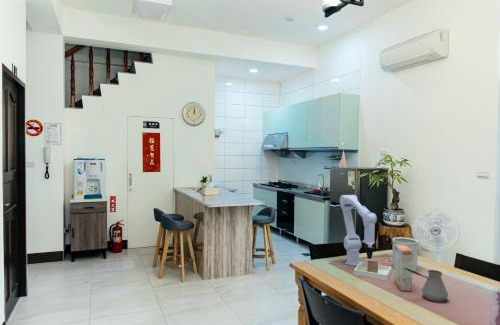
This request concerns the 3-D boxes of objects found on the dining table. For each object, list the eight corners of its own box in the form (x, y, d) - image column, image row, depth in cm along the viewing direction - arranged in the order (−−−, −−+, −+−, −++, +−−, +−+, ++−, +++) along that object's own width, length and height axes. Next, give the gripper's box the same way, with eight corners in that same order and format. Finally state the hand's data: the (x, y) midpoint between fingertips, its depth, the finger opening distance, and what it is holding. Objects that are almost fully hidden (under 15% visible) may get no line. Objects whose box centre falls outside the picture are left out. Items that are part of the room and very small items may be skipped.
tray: (360, 266, 219) (360, 262, 219) (391, 271, 210) (391, 266, 210) (353, 274, 203) (353, 269, 203) (386, 280, 194) (386, 275, 194)
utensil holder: (422, 272, 209) (423, 242, 209) (397, 271, 210) (397, 242, 210) (411, 264, 224) (412, 237, 224) (388, 264, 224) (388, 237, 224)
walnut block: (367, 270, 209) (367, 260, 209) (376, 271, 208) (376, 261, 208) (368, 273, 204) (368, 263, 204) (377, 274, 203) (377, 263, 203)
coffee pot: (439, 293, 176) (439, 263, 175) (453, 303, 164) (454, 271, 164) (397, 294, 174) (397, 264, 174) (409, 303, 163) (409, 271, 163)
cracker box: (412, 291, 178) (413, 250, 177) (399, 290, 179) (400, 250, 179) (406, 282, 191) (406, 244, 191) (394, 281, 193) (394, 243, 192)
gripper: (361, 230, 215) (361, 252, 216) (362, 235, 201) (362, 259, 202) (373, 231, 214) (373, 253, 214) (375, 236, 200) (375, 260, 200)
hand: (369, 256), depth 208 cm, fingers open, 7 cm apart
